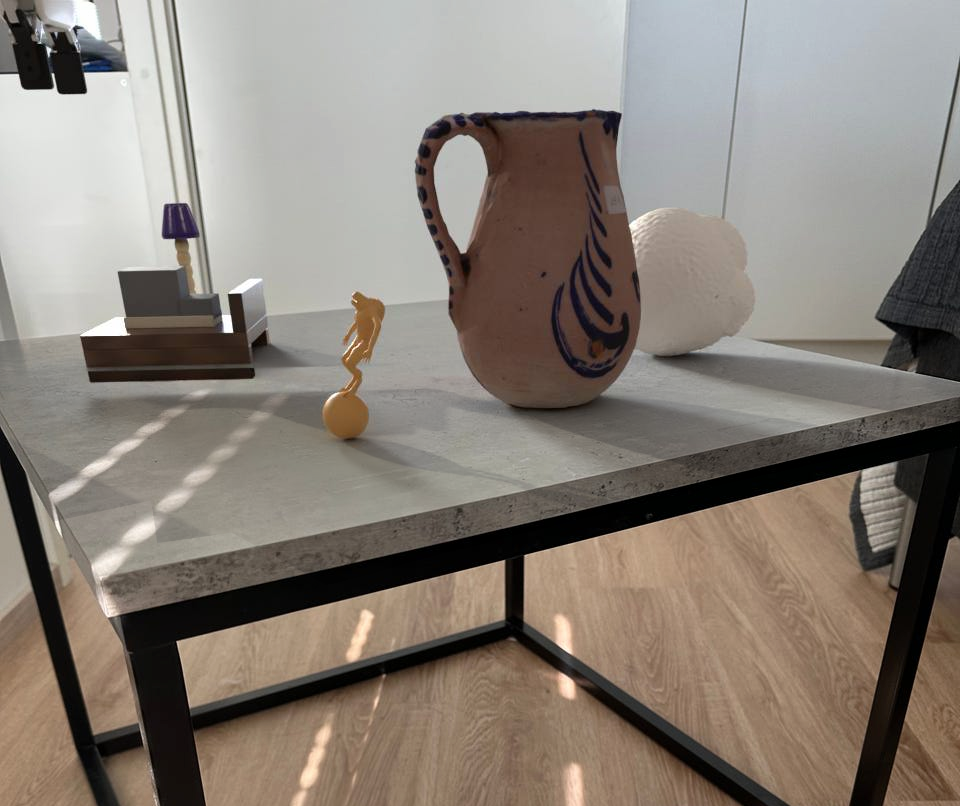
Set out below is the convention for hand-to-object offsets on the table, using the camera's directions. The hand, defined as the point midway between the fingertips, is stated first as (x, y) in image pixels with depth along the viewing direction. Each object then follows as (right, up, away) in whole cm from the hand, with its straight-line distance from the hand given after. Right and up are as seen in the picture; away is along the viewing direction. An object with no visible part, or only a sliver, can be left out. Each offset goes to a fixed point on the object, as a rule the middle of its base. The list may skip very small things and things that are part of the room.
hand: (56, 91), depth 100 cm
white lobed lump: (+69, -25, +11) cm, 74 cm away
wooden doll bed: (+12, -28, +7) cm, 31 cm away
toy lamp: (+8, -20, +23) cm, 32 cm away
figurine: (+35, -42, -19) cm, 58 cm away
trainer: (+11, -24, +5) cm, 27 cm away
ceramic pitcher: (+51, -36, -9) cm, 63 cm away
